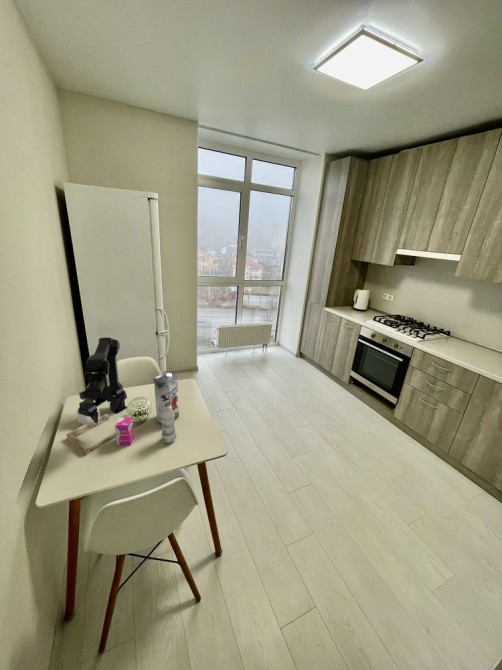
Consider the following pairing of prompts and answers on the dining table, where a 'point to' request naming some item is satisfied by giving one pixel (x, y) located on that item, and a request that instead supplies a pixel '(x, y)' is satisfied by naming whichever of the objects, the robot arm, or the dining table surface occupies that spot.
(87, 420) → the medicine bottle
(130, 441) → the supplement box
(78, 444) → the cleat bracket
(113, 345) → the robot arm
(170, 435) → the plastic bottle
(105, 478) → the dining table surface
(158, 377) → the juice carton
